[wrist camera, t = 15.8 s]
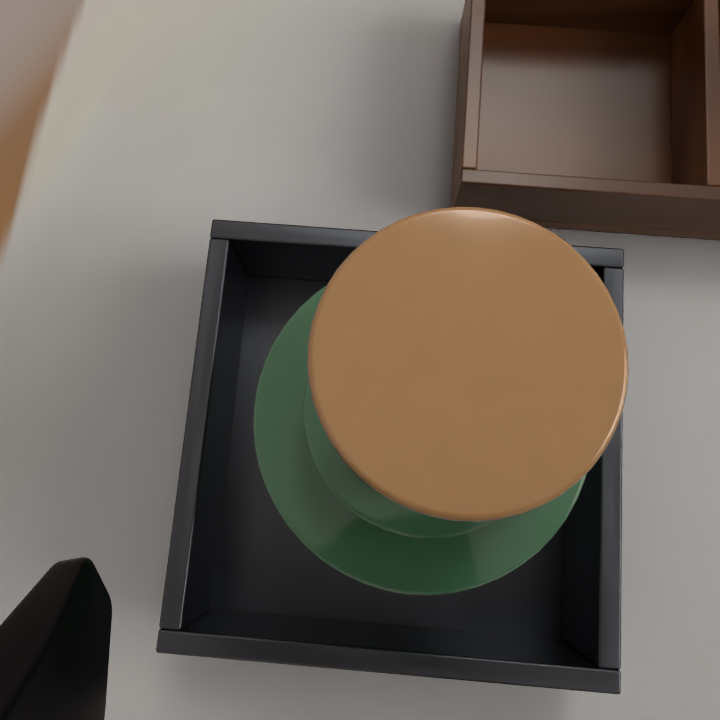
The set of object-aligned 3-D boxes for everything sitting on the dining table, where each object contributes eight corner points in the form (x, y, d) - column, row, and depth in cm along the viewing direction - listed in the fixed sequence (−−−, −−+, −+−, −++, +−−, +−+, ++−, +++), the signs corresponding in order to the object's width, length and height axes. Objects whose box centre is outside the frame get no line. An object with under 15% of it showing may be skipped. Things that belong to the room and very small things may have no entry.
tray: (573, 656, 21) (621, 695, 17) (194, 622, 22) (155, 652, 18) (581, 289, 24) (624, 248, 20) (238, 264, 24) (212, 218, 20)
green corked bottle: (512, 398, 22) (849, 180, 7) (454, 573, 21) (692, 803, 6) (344, 337, 23) (291, 1, 7) (278, 506, 22) (51, 546, 6)
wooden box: (898, 253, 24) (975, 218, 21) (448, 221, 24) (460, 182, 21) (882, 47, 25) (952, -14, 22) (461, 20, 26) (473, -43, 23)
